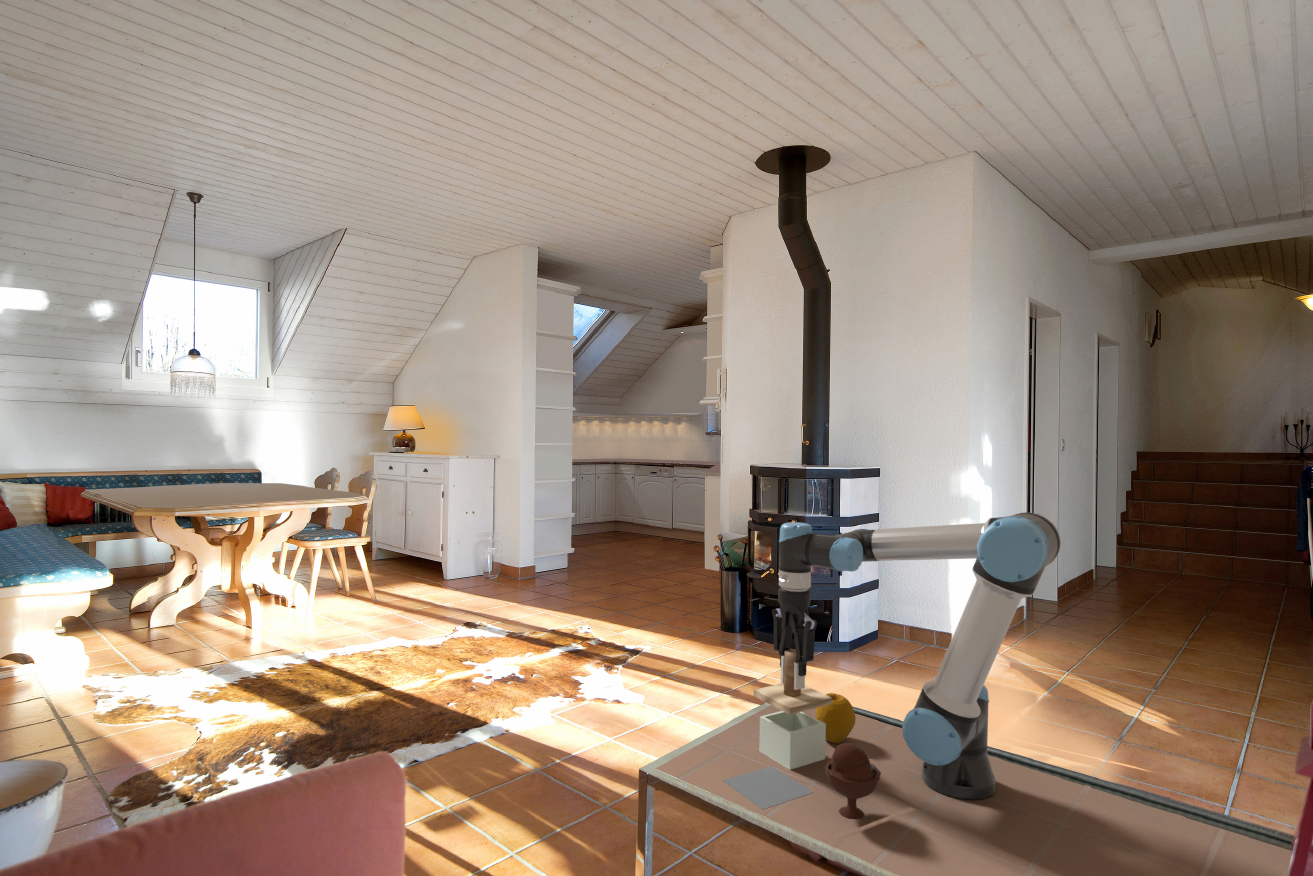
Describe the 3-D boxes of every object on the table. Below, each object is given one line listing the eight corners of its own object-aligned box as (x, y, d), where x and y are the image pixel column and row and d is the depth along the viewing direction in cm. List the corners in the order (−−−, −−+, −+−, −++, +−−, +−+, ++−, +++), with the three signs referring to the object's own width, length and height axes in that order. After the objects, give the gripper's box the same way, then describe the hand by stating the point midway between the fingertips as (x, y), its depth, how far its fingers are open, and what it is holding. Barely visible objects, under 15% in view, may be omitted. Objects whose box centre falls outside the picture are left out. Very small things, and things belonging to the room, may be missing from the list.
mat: (813, 795, 157) (813, 792, 157) (762, 812, 150) (762, 809, 150) (771, 768, 169) (771, 766, 169) (722, 783, 162) (722, 780, 162)
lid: (831, 704, 173) (832, 655, 172) (789, 714, 166) (790, 664, 166) (794, 686, 184) (795, 641, 184) (753, 695, 177) (754, 648, 177)
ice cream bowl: (882, 833, 143) (884, 757, 143) (824, 826, 145) (825, 751, 145) (877, 805, 153) (878, 734, 153) (822, 799, 156) (824, 729, 155)
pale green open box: (825, 761, 173) (825, 723, 173) (789, 772, 168) (790, 733, 167) (793, 743, 183) (794, 708, 182) (759, 753, 177) (759, 716, 177)
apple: (861, 740, 185) (862, 694, 185) (841, 752, 178) (842, 704, 178) (828, 729, 192) (829, 684, 192) (807, 739, 185) (808, 693, 185)
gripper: (759, 582, 180) (757, 677, 180) (807, 597, 165) (805, 700, 166) (782, 579, 184) (781, 672, 184) (831, 593, 169) (829, 694, 169)
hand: (792, 685), depth 175 cm, fingers closed on lid, 4 cm apart
